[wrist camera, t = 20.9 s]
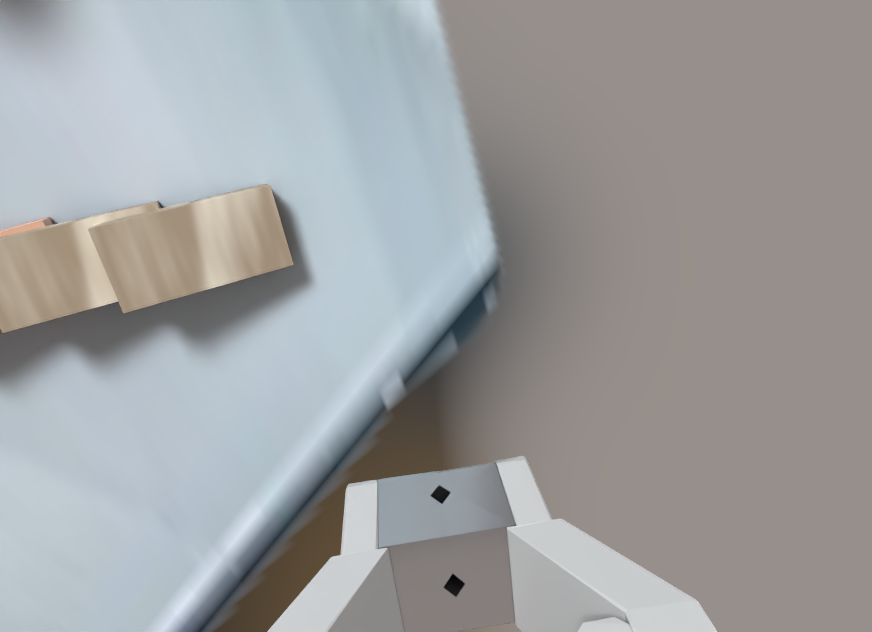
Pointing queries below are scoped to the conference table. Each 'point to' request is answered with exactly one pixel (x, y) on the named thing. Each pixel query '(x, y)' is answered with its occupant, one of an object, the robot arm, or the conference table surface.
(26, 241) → the domino
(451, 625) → the robot arm
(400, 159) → the conference table surface
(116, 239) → the end domino
